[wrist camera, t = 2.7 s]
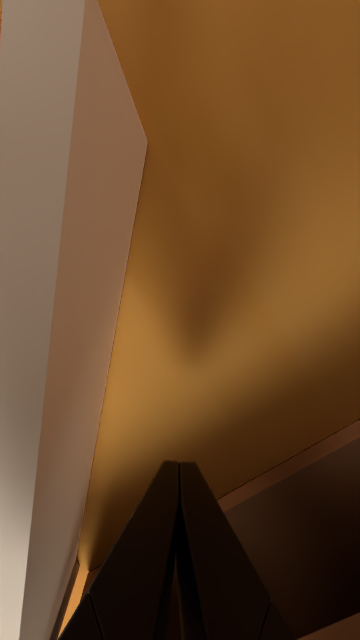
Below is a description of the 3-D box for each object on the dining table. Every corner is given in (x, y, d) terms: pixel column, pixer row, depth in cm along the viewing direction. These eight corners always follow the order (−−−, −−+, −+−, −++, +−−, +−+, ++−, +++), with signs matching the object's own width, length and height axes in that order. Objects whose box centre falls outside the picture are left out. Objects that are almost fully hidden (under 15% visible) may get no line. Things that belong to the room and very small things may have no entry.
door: (77, 578, 12) (10, 796, 7) (31, 570, 12) (-67, 788, 7) (155, 144, 8) (108, -21, 3) (80, 124, 7) (-106, -83, 3)
